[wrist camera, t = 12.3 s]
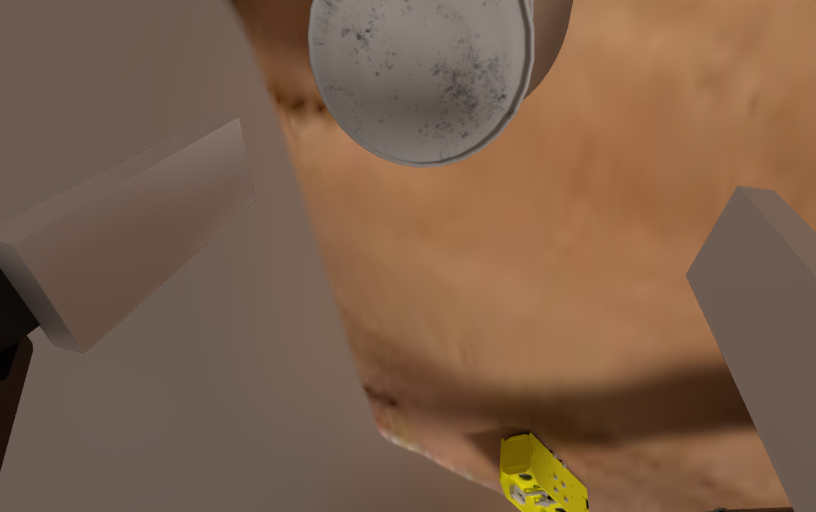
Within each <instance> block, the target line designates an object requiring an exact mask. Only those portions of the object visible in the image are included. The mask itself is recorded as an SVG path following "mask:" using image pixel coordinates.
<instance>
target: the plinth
mask: <svg viewBox="0 0 816 512" xmlns="http://www.w3.org/2000/svg"><path fill="white" fill-rule="evenodd" d="M572 3H573V0H533V24H534V63H533V68H532V72H531V77H530V81H529V86H528V89H527V91H526V93H525V96H524V98H523V100H524V99H525V98H526V97H527V96H528V95H529V94H530V93H531V92H532V91H533V90H534V89H535V88H536V87H537V86H538V85H539V84H540V82H541V81H542V80H543V78H544V77H545V76H546V74H547V73H548V72H549V70H550V68H551V66H552V65H553V63H554V61H555V60H556V58H557V55H558V53H559V51H560V49H561V46H562V44H563V41H564V38H565V35H566V32H567V28H568V23H569V18H570V13H571V8H572Z"/></svg>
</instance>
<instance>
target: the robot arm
mask: <svg viewBox="0 0 816 512" xmlns="http://www.w3.org/2000/svg"><path fill="white" fill-rule="evenodd" d="M255 201H256V200H255V195H254V190H253V185H252V180H251V175H250V170H249V165H248V160H247V155H246V151H245V146H244V141H243V136H242V131H241V126H240V121H239V117H233V116H226V115H218V114H214V115H212V116H210V117H209V118H207V119H205V120H203V121H201V122H199V123H197V124H195V125H193V126H191V127H189V128H187V129H185V130H183V131H181V132H180V133H177V134H175V135H173V136H171V137H170V138H168V139H166V140H164V141H162V142H160V143H158V144H156V145H154V146H152V147H150V148H148V149H146V150H144V151H142V152H140V153H138V154H136V155H134V156H133V157H131V158H129V159H127V160H125V161H123V162H121V163H119V164H117V165H115V166H113V167H111V168H109V169H107V170H105V171H104V172H101V173H99V174H97V175H96V176H93V177H92V178H90V179H88V180H86V181H84V182H82V183H80V184H78V185H76V186H74V187H72V188H70V189H68V190H66V191H64V192H62V193H60V194H58V195H56V196H54V197H53V198H51V199H49V200H47V201H45V202H43V203H41V204H39V205H37V206H35V207H33V208H31V209H29V210H27V211H25V212H23V213H21V214H19V215H17V216H15V217H14V218H12V219H10V220H8V221H6V222H4V223H2V224H0V470H1V467H2V463H3V459H4V456H5V452H6V448H7V445H8V441H9V437H10V433H11V430H12V426H13V423H14V419H15V415H16V412H17V408H18V404H19V401H20V396H21V393H22V389H23V386H24V382H25V378H26V375H27V371H28V367H29V364H30V360H31V356H32V353H33V344H32V342H31V341H30V339H29V338H28V337H27V334H29V333H30V332H31V331H33V330H34V329H35V328H37V327H38V326H40V327H41V328H42V330H43V331H44V332H45V334H46V335H47V337H48V338H49V339H50V341H51V342H52V344H53V345H54V346H57V347H61V348H64V349H68V350H72V351H76V352H80V353H84V354H85V353H86V352H87V351H88V350H89V349H91V348H92V347H93V346H94V345H95V344H96V343H97V342H98V341H100V340H101V339H102V338H103V337H104V336H105V335H106V334H107V333H109V332H110V331H111V330H112V329H113V328H114V327H115V326H116V325H117V324H119V323H120V322H121V321H122V320H123V319H124V318H125V317H126V316H128V315H129V314H130V313H131V312H132V311H133V310H134V309H135V308H136V307H138V306H139V305H140V304H141V303H142V302H143V301H144V300H145V299H146V298H148V297H149V296H150V295H151V294H152V293H153V292H154V291H155V290H157V289H158V288H159V287H160V286H161V285H162V284H163V283H164V282H165V281H167V280H168V279H169V278H170V277H171V276H172V275H173V274H174V273H175V272H177V271H178V270H179V269H180V268H181V267H182V266H183V265H184V264H186V263H187V262H188V261H189V260H190V259H191V258H192V257H193V256H194V255H196V254H197V253H198V252H199V251H200V250H201V249H202V248H203V247H205V246H206V245H207V244H208V243H209V242H210V241H211V240H212V239H214V237H216V236H217V235H218V234H219V233H220V232H221V231H222V230H224V229H225V228H226V227H227V226H228V225H229V224H230V223H231V222H232V221H234V220H235V219H236V218H237V217H238V216H239V215H240V214H241V213H243V212H244V211H245V210H246V209H247V208H248V207H249V206H250V205H251V204H253V203H254V202H255ZM686 277H687V279H688V281H689V283H690V285H691V288H692V290H693V292H694V294H695V296H696V298H697V301H698V303H699V305H700V307H701V309H702V312H703V314H704V316H705V318H706V320H707V322H708V325H709V327H710V329H711V331H712V333H713V336H714V338H715V340H716V342H717V344H718V346H719V349H720V351H721V353H722V355H723V357H724V359H725V362H726V364H727V366H728V368H729V370H730V373H731V375H732V377H733V379H734V381H735V383H736V386H737V388H738V390H739V392H740V394H741V396H742V399H743V401H744V403H745V405H746V407H747V410H748V412H749V414H750V416H751V418H752V420H753V423H754V425H755V427H756V429H757V431H758V434H759V436H760V438H761V440H762V442H763V444H764V447H765V449H766V451H767V453H768V455H769V457H770V460H771V462H772V464H773V466H774V468H775V471H776V473H777V475H778V477H779V479H780V481H781V484H782V486H783V488H784V490H785V492H786V494H787V497H788V499H789V501H790V503H791V505H792V507H781V508H755V509H730V510H727V509H726V508H717V509H715V510H713V511H707V512H816V233H815V232H814V231H813V230H812V228H811V227H810V226H809V225H808V224H807V223H806V222H805V221H804V220H803V219H802V218H801V217H800V216H799V215H798V214H797V213H796V212H795V211H794V210H793V209H792V208H791V207H790V206H789V205H788V204H787V203H786V202H785V201H784V200H783V199H782V198H781V197H780V196H779V195H778V194H777V193H776V192H775V191H774V190H767V189H760V188H752V187H745V186H737V188H736V190H735V191H734V193H733V195H732V196H731V198H730V200H729V202H728V203H727V205H726V207H725V208H724V210H723V212H722V214H721V215H720V217H719V219H718V220H717V222H716V224H715V226H714V227H713V229H712V231H711V232H710V234H709V236H708V238H707V239H706V241H705V243H704V244H703V246H702V248H701V250H700V251H699V253H698V255H697V256H696V258H695V260H694V262H693V263H692V265H691V267H690V268H689V270H688V272H687V274H686Z"/></svg>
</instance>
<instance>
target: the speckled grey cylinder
mask: <svg viewBox="0 0 816 512" xmlns="http://www.w3.org/2000/svg"><path fill="white" fill-rule="evenodd" d="M308 47H309V58H310V65H311V68H312V72H313V75H314V79H315V82H316V86H317V89H318V91H319V93H320V95H321V97H322V99H323V101H324V103H325V105H326V107H327V109H328V111H329V112H330V114H331V115H332V116H333V118H334V119H335V120H336V122H337V123H338V124H339V126H340V127H341V128H342V130H343V131H345V132H346V133H347V134H348V135H349V136H350V137H351V138H352V139H353V140H354V141H355V142H356V143H358V144H359V145H360V146H362V147H363V148H365V149H366V150H368V151H370V152H371V153H373V154H375V155H376V156H378V157H380V158H383V159H385V160H388V161H391V162H394V163H396V164H399V165H406V166H413V167H419V168H421V167H437V166H444V165H448V164H451V163H455V162H458V161H461V160H464V159H466V158H468V157H470V156H471V155H473V154H475V153H477V152H479V151H481V150H482V149H484V148H485V147H486V146H487V145H488V144H490V143H491V142H492V141H493V140H494V139H495V138H497V137H498V136H499V135H500V134H501V133H502V132H503V130H504V129H505V128H506V126H507V125H508V124H509V122H510V121H511V120H512V118H513V117H514V116H515V114H516V113H517V111H518V109H519V107H520V104H521V102H522V100H523V98H524V96H525V93H526V91H527V89H528V86H529V81H530V77H531V72H532V68H533V63H534V24H533V0H313V1H312V5H311V8H310V17H309V27H308Z"/></svg>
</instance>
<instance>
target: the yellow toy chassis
mask: <svg viewBox="0 0 816 512" xmlns="http://www.w3.org/2000/svg"><path fill="white" fill-rule="evenodd" d="M499 481H500V483H501V486H502V488H503V491H504V494H505V496H506V498H507V499H508V500H510V501H511V502H512V503H513V504H514V505H515V506H516V507H517V508H519V509H520V510H521V511H522V512H589V506H588V498H587V489H586V488H585V487H584V486H583V485H582V484H581V483H580V482H579V481H578V480H577V479H576V478H575V477H574V476H573V475H572V474H571V473H570V472H569V471H568V470H567V469H566V464H562V463H561V462H560V461H559V460H558V459H557V456H556V454H552V453H551V452H550V451H549V450H548V449H547V448H546V447H545V446H544V445H543V444H542V443H541V442H540V441H539V440H538V439H537V438H536V437H535V436H534V435H533V434H532V433H529V435H527V434H523V435H518V436H513V437H510V438H508V439H507V440H506V441H505V440H504V439H501V455H500V471H499ZM509 487H510V492H509ZM510 495H511V496H512V497H513V498H514V499H512V498H511V496H510Z"/></svg>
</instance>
